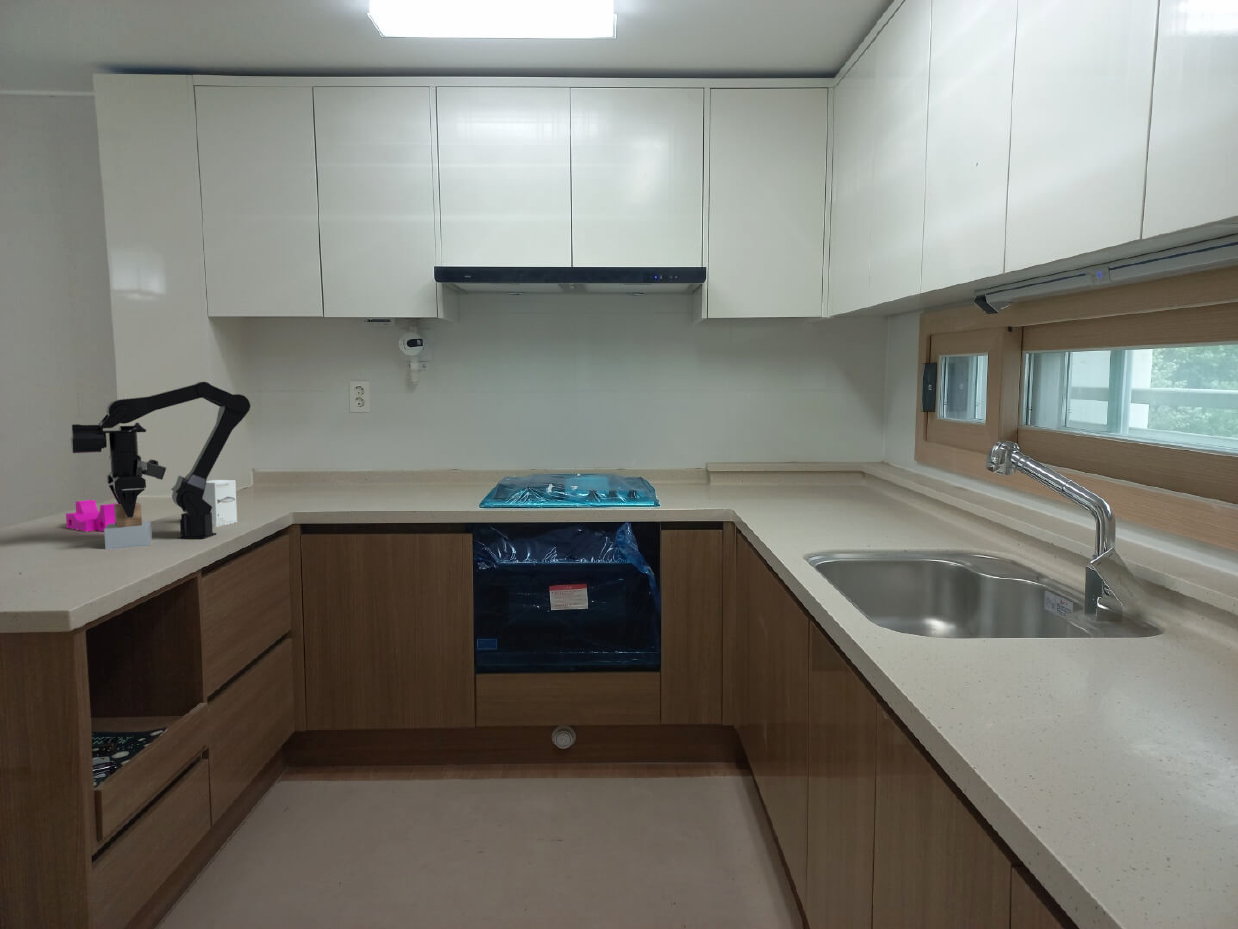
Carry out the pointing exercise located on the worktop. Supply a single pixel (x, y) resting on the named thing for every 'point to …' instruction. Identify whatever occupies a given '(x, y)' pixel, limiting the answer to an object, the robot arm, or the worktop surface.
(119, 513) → the walnut cube
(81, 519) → the toy block
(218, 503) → the supplement box
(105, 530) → the slate base block
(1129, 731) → the worktop surface
